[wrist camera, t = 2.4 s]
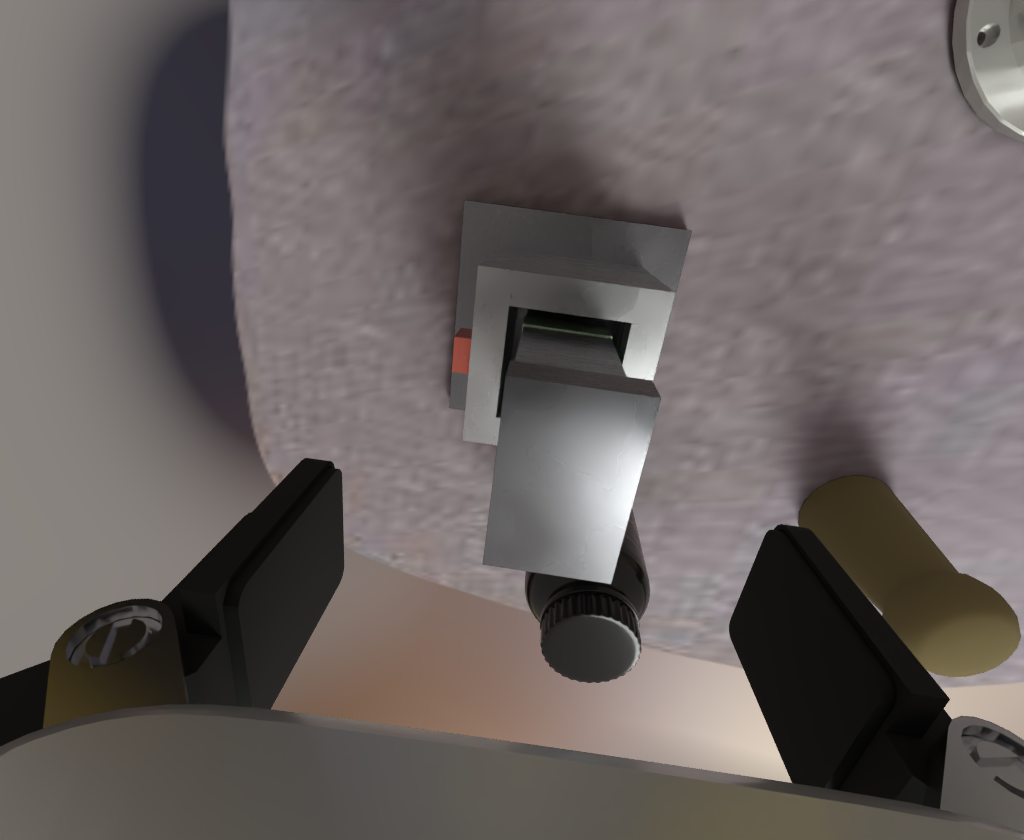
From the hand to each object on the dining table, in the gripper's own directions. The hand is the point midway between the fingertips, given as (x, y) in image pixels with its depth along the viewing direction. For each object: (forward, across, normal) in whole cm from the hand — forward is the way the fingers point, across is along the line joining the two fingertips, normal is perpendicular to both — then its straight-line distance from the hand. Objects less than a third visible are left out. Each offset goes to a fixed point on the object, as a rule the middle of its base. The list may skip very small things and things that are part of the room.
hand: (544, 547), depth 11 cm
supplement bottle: (+20, -4, +12) cm, 24 cm away
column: (+19, -1, -1) cm, 19 cm away
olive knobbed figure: (+20, -22, +9) cm, 31 cm away
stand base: (+20, -1, -1) cm, 20 cm away
